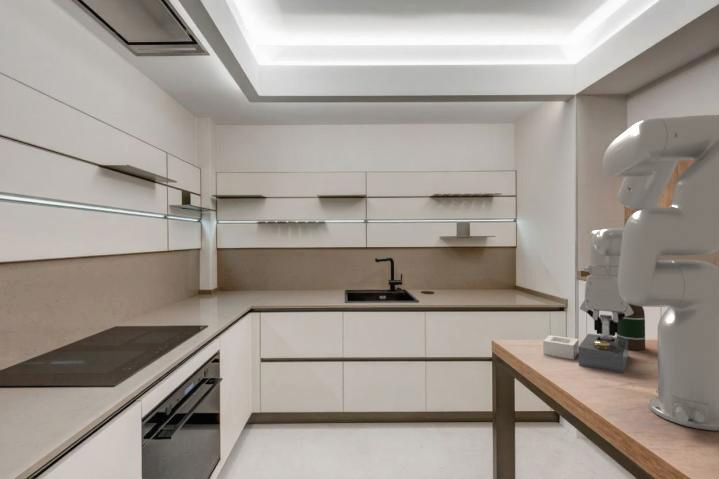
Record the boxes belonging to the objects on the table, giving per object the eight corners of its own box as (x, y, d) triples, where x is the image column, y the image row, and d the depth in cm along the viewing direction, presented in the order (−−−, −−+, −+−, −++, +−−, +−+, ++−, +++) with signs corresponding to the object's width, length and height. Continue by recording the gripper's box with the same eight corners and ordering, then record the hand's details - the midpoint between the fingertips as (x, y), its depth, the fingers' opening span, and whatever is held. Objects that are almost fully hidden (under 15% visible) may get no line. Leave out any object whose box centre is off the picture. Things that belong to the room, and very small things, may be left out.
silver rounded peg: (612, 358, 106) (611, 317, 106) (599, 356, 108) (599, 315, 108) (613, 355, 109) (612, 315, 108) (601, 353, 110) (600, 314, 110)
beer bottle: (622, 353, 114) (621, 275, 113) (611, 346, 121) (610, 273, 121) (651, 355, 112) (650, 276, 112) (638, 347, 119) (637, 273, 119)
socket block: (623, 377, 95) (622, 353, 95) (578, 368, 102) (578, 347, 102) (628, 359, 108) (627, 338, 108) (588, 352, 115) (588, 333, 115)
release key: (609, 368, 99) (608, 344, 99) (593, 365, 101) (593, 342, 101) (610, 364, 102) (610, 341, 102) (595, 361, 104) (595, 339, 104)
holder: (573, 362, 106) (573, 345, 106) (543, 357, 112) (543, 340, 112) (578, 355, 113) (578, 339, 113) (549, 350, 118) (549, 335, 118)
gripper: (571, 271, 111) (572, 332, 111) (639, 274, 100) (640, 341, 100) (575, 269, 116) (576, 327, 116) (640, 271, 106) (641, 335, 106)
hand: (606, 333), depth 108 cm, fingers closed on silver rounded peg, 3 cm apart
